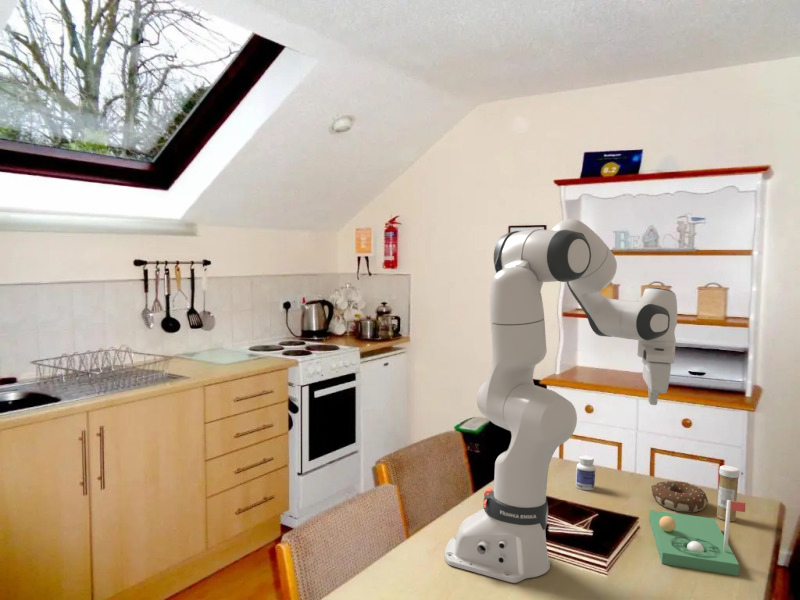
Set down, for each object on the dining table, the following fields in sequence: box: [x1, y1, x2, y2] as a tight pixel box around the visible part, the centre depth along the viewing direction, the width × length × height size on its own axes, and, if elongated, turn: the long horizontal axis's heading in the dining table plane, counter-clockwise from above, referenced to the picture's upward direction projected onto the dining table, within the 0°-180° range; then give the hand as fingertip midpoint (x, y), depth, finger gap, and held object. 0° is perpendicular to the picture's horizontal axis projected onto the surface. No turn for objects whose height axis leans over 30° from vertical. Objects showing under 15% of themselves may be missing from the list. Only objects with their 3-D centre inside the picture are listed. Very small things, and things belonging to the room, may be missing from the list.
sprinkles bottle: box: [716, 464, 740, 522], centre depth 158 cm, size 5×5×14 cm
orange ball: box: [659, 516, 676, 532], centre depth 143 cm, size 4×4×4 cm
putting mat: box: [648, 500, 746, 577], centre depth 142 cm, size 17×24×14 cm
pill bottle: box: [575, 454, 596, 491], centre depth 176 cm, size 5×5×9 cm
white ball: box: [687, 541, 704, 553], centre depth 136 cm, size 4×4×4 cm
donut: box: [651, 480, 709, 513], centre depth 167 cm, size 14×14×5 cm
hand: (652, 403), depth 158 cm, fingers closed
